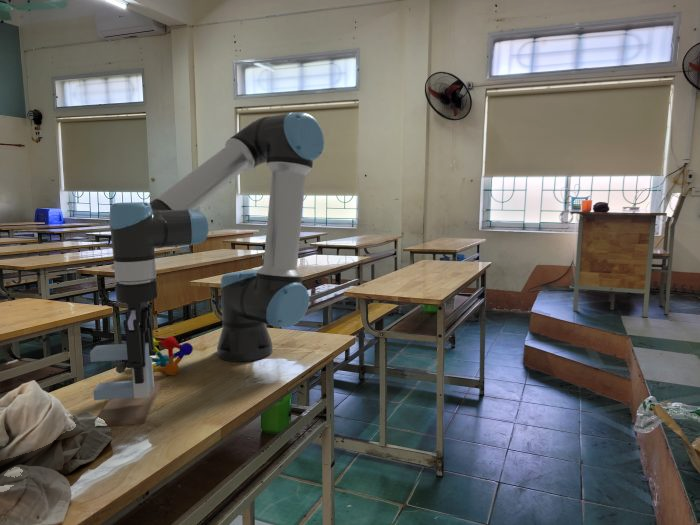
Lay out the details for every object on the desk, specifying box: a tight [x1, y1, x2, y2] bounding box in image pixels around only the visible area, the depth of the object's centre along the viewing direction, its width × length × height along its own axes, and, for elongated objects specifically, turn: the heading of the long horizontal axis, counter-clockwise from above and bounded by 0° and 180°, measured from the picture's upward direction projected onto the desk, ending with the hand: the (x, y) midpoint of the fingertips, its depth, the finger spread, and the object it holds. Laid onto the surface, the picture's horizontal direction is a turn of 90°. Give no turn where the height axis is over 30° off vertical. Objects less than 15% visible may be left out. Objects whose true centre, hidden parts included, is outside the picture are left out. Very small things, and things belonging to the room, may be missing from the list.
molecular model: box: [152, 336, 194, 376], centre depth 123 cm, size 11×10×15 cm
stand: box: [97, 360, 163, 427], centre depth 104 cm, size 9×19×13 cm, turn 10°
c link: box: [89, 343, 151, 401], centre depth 100 cm, size 10×4×10 cm, turn 100°
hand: (144, 391), depth 101 cm, fingers closed on c link, 4 cm apart
